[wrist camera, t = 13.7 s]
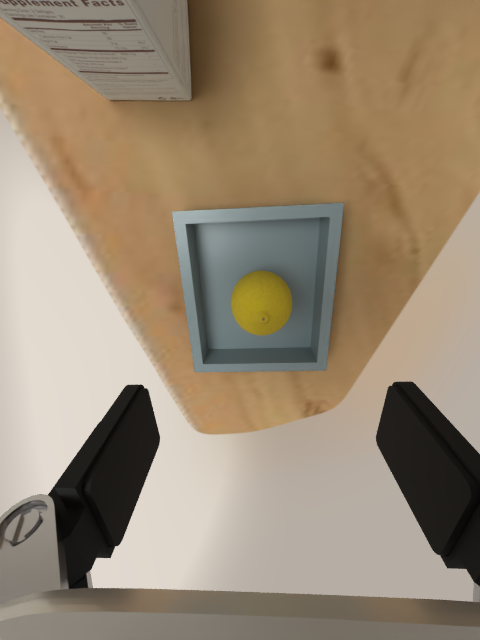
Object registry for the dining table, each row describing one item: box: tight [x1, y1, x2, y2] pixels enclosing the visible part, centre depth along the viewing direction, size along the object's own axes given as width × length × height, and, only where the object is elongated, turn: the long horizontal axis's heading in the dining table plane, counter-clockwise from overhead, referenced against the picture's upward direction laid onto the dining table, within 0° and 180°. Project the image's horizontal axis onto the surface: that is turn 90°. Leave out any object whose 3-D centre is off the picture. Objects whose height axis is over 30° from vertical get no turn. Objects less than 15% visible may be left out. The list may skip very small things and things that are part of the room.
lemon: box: [231, 270, 292, 336], centre depth 23 cm, size 6×6×8 cm
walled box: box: [172, 203, 344, 372], centre depth 25 cm, size 16×14×4 cm
